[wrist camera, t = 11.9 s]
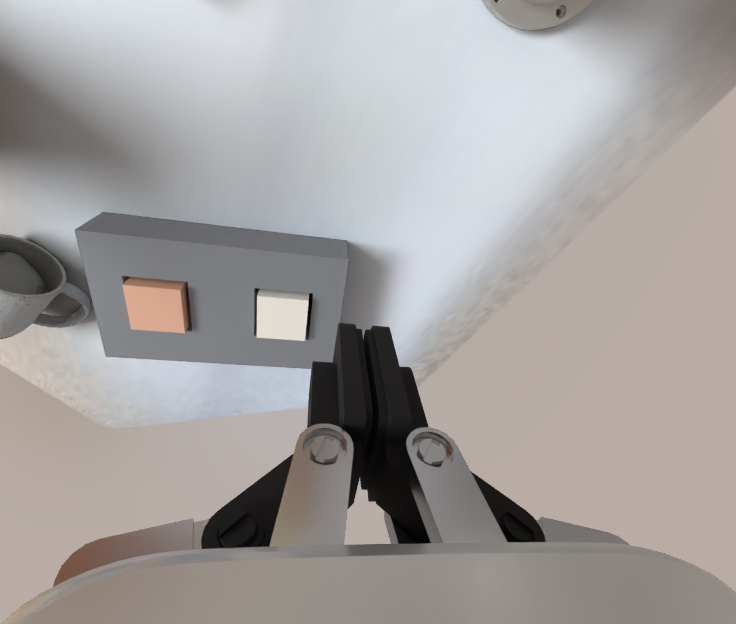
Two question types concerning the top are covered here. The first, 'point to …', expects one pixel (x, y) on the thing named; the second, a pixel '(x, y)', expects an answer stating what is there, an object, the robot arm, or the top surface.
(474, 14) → the top surface
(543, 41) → the top surface
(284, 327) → the white key
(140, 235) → the key panel
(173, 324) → the light orange cube
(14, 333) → the ceramic mug
